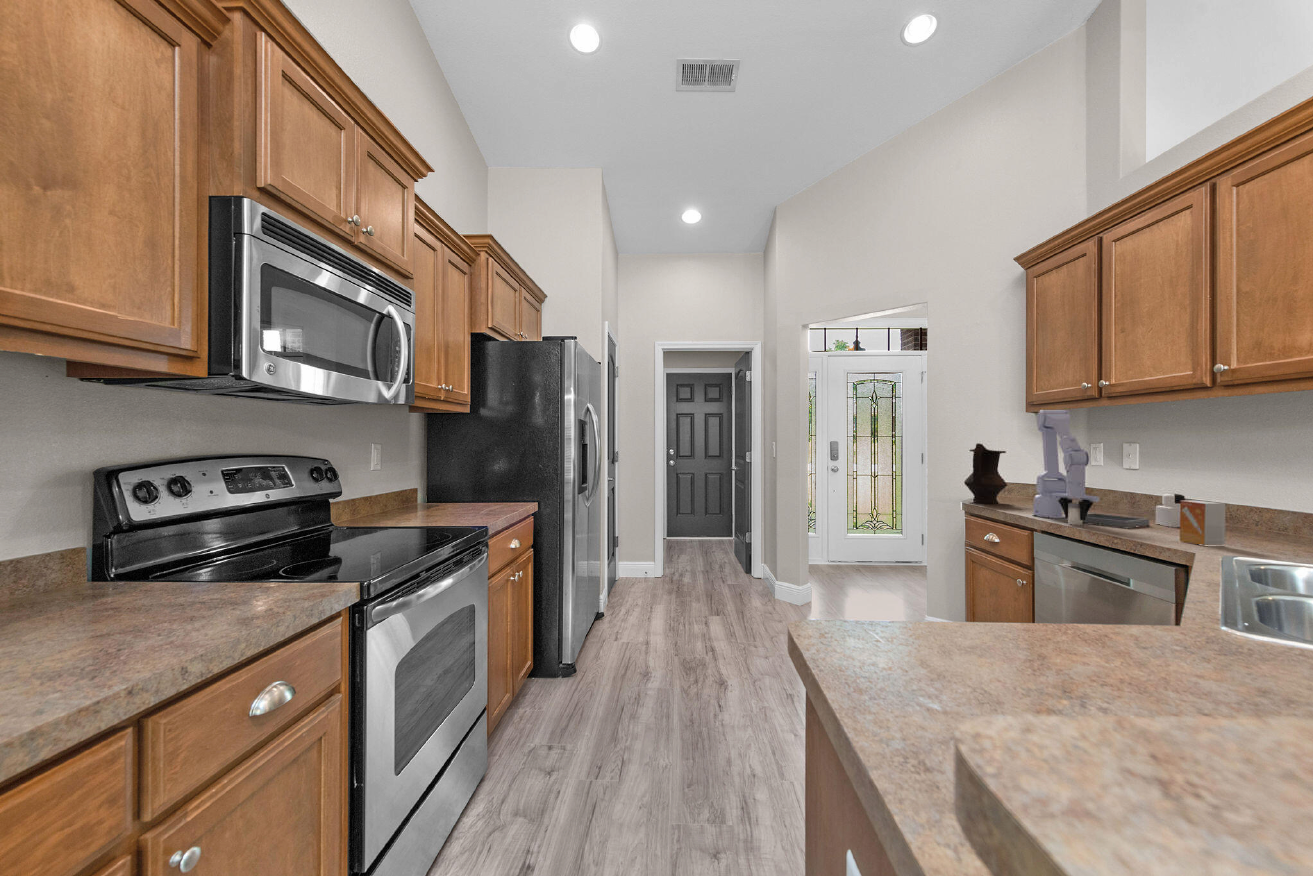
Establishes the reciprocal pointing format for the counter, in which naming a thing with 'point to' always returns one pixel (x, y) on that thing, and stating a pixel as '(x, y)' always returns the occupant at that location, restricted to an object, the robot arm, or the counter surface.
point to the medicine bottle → (1169, 510)
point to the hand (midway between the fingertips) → (1075, 519)
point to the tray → (1115, 520)
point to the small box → (1202, 522)
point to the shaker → (1074, 514)
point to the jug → (985, 475)
